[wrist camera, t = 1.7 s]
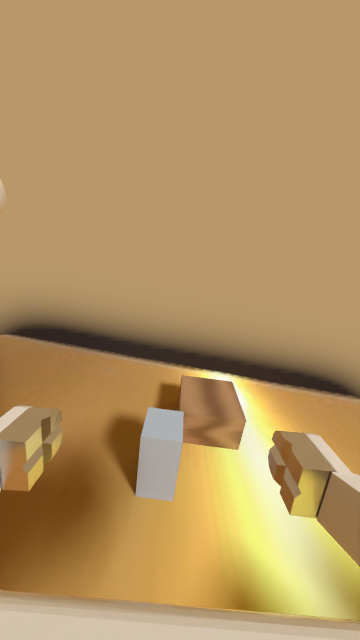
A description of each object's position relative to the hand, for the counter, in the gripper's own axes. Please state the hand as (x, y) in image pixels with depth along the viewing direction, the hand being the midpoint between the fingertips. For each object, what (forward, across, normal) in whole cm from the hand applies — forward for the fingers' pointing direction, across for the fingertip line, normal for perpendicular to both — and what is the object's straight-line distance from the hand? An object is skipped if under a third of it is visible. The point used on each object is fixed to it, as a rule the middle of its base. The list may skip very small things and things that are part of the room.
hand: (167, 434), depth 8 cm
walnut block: (+25, -7, +20) cm, 33 cm away
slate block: (+14, +1, +20) cm, 25 cm away
